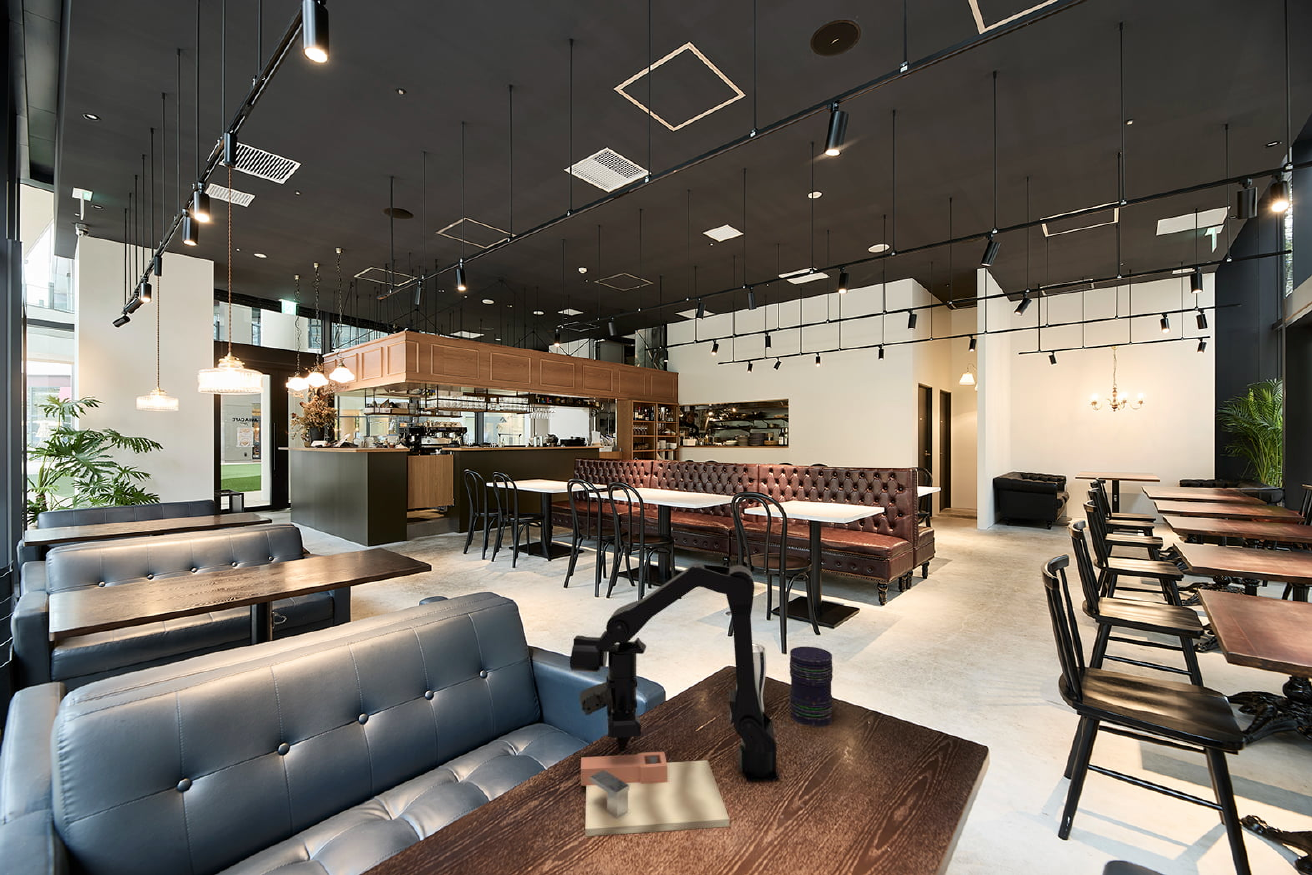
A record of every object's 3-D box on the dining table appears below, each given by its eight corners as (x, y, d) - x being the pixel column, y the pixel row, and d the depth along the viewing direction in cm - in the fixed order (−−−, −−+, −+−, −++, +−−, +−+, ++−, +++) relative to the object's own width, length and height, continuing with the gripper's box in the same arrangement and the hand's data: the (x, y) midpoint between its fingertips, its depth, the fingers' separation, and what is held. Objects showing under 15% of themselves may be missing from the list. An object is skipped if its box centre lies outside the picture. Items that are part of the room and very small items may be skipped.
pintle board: (707, 766, 113) (707, 743, 113) (729, 826, 95) (729, 799, 95) (586, 773, 110) (586, 750, 110) (585, 836, 92) (585, 808, 92)
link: (663, 766, 110) (664, 751, 111) (667, 781, 106) (667, 765, 106) (581, 771, 109) (581, 755, 109) (580, 787, 104) (580, 770, 104)
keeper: (603, 794, 102) (603, 769, 102) (629, 811, 97) (629, 785, 97) (590, 801, 100) (590, 776, 100) (616, 819, 95) (616, 792, 95)
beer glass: (766, 717, 133) (766, 653, 134) (736, 715, 135) (736, 651, 135) (766, 704, 140) (766, 643, 140) (737, 702, 142) (738, 641, 142)
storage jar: (782, 709, 138) (782, 647, 138) (818, 705, 140) (818, 644, 140) (802, 729, 128) (802, 662, 128) (841, 724, 130) (841, 659, 131)
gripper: (583, 657, 123) (582, 729, 123) (581, 694, 105) (580, 779, 104) (634, 655, 124) (633, 727, 124) (641, 691, 106) (640, 775, 106)
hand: (621, 750), depth 115 cm, fingers closed
